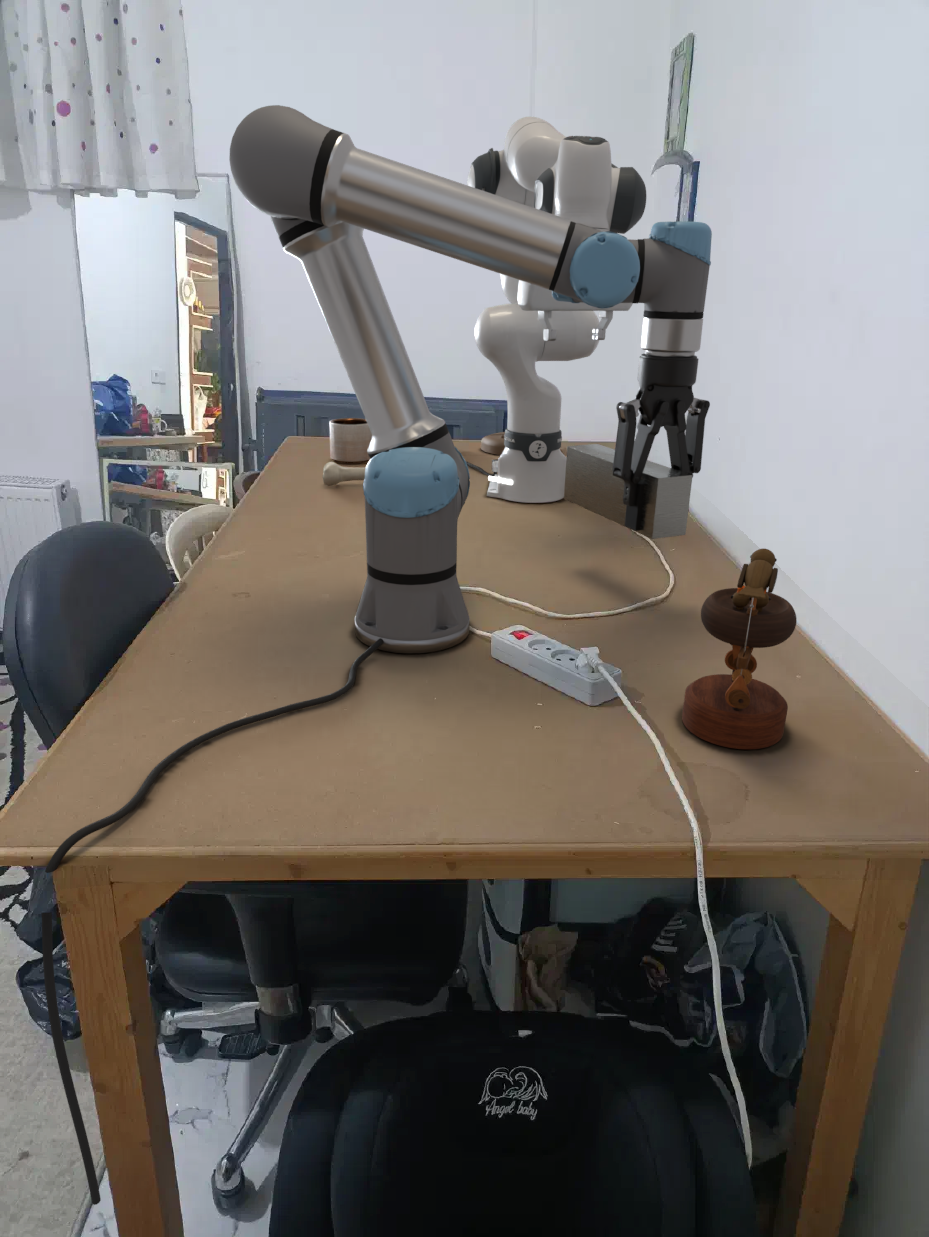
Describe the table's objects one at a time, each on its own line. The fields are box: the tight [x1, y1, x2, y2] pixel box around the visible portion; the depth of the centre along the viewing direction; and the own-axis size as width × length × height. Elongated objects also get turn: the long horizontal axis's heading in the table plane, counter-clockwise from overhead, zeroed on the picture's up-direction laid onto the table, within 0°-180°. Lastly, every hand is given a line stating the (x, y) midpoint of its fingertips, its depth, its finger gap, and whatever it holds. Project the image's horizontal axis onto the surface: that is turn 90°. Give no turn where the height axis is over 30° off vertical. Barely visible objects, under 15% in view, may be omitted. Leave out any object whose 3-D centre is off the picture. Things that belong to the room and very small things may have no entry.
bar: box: [563, 443, 694, 540], centre depth 123 cm, size 24×6×8 cm, turn 24°
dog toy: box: [322, 461, 366, 486], centre depth 189 cm, size 20×6×5 cm, turn 99°
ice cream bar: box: [480, 431, 505, 456], centre depth 223 cm, size 21×28×4 cm
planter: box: [328, 417, 372, 464], centre depth 212 cm, size 11×11×10 cm
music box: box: [681, 548, 797, 750], centre depth 88 cm, size 15×11×20 cm
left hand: (651, 525), depth 118 cm, fingers closed on bar, 6 cm apart
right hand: (574, 340), depth 140 cm, fingers open, 8 cm apart
